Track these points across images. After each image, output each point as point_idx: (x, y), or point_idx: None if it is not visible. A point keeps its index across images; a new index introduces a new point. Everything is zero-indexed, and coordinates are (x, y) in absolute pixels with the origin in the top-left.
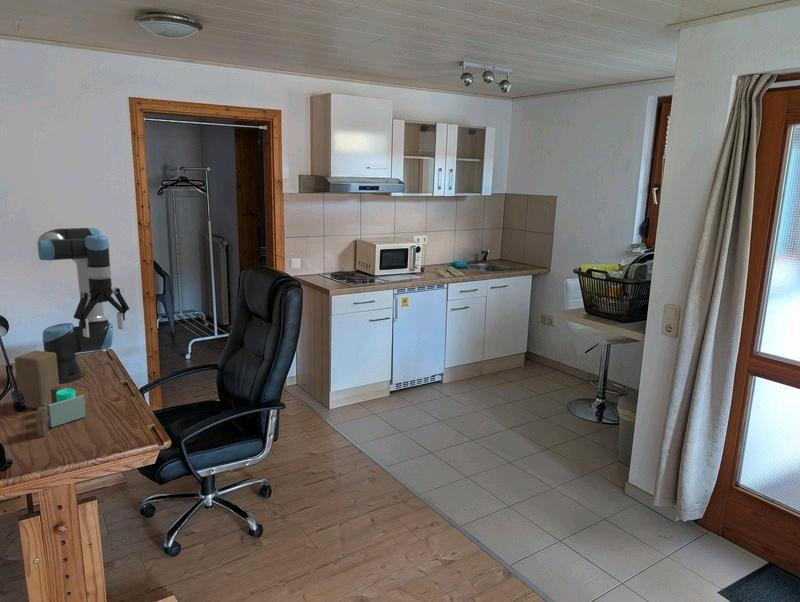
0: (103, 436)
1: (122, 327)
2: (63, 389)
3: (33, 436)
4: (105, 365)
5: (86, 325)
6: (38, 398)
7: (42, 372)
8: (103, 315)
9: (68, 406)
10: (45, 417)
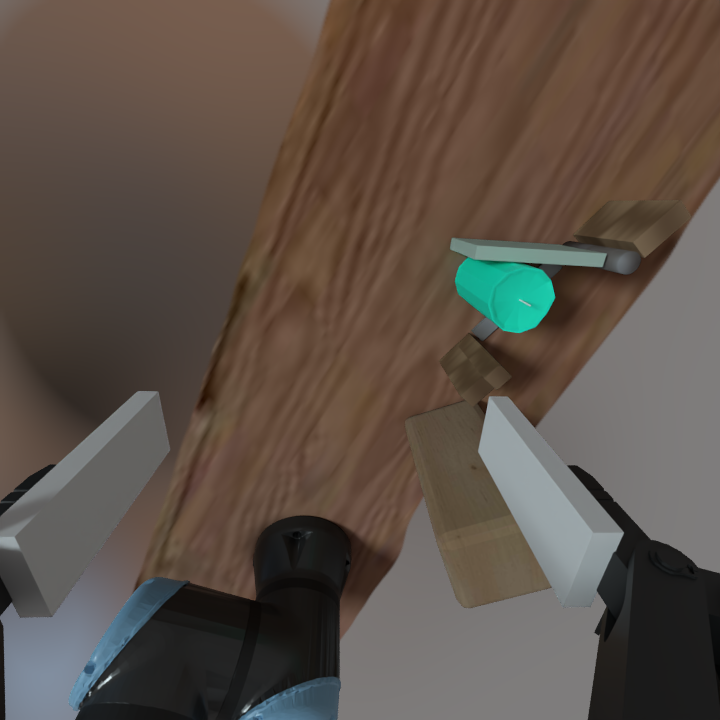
0: (537, 9)
1: (139, 403)
2: (509, 327)
3: None
4: (175, 558)
5: (572, 473)
6: None
7: None
8: None
9: (528, 246)
10: (622, 226)
